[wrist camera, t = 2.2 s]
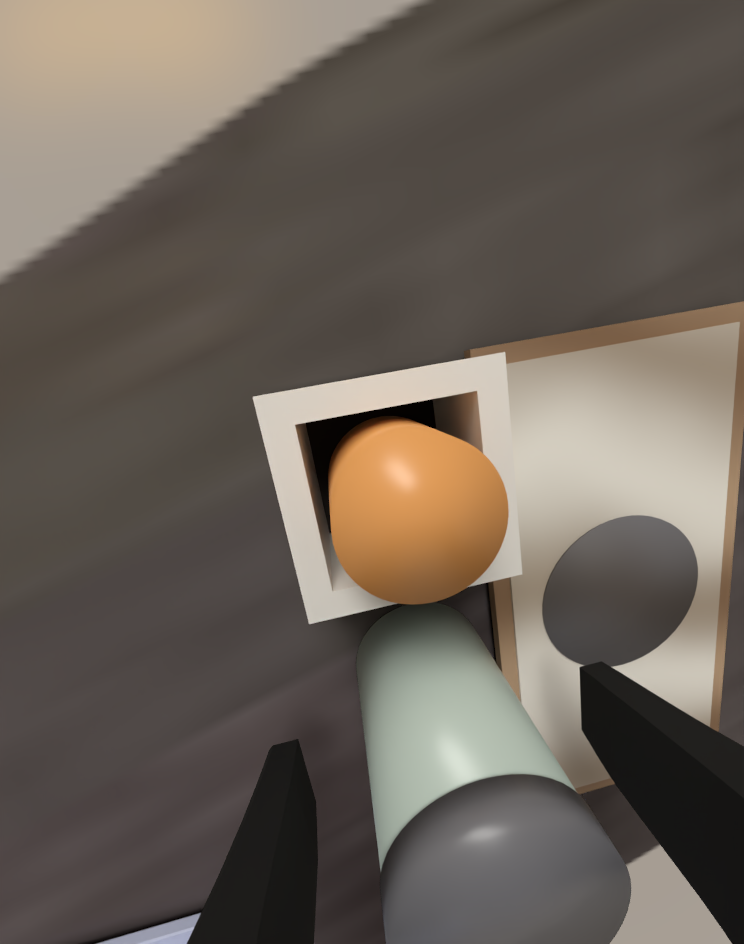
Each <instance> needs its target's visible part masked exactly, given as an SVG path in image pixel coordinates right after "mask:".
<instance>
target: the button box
mask: <svg viewBox="0 0 744 944" xmlns="http://www.w3.org/2000/svg"><path fill="white" fill-rule="evenodd" d="M430 399H433V407H434V415H435V423H436V430H438V431H441V432H444V433H446V434H449V435H451V436H454V437H456V438H458V439H461V440H463V441H465V442H467V443H469V444H471V445H472V446H474V447H475V448H477V449H478V450H479V451H481V452H482V453H483V454H484V455H485V456H486V457H487V458H488V459H489V460H490V461H491V463H492V464H493V465H494V467H495V468H496V470H497V471H498V473H499V475H500V477H501V479H502V481H503V483H504V486H505V490H506V493H507V499H508V510H509V517H508V525H507V530H506V534H505V538H504V540H503V543H502V546H501V548H500V550H499V552H498V554H497V556H496V558H495V559H494V561H493V562H492V563H491V565H490V566H489V568H488V569H487V570H486V571H485V572H484V573H483V574H482V575H481V576H480V577H479V578H478V579H477V580H476V581H475V582H474V583H472V584H471V585H470V586H475V585H479V584H483V583H488V582H492V581H496V580H500V579H505V578H509V577H513V576H517V575H522V562H521V549H520V536H519V524H518V511H517V498H516V485H515V472H514V459H513V446H512V433H511V420H510V407H509V394H508V382H507V369H506V356H505V352H502V353H496V354H490V355H485V356H479V357H474V358H468V359H462V360H457V361H451V362H445V363H440V364H434V365H429V366H423V367H417V368H412V369H406V370H400V371H395V372H389V373H384V374H378V375H372V376H367V377H361V378H356V379H350V380H344V381H339V382H333V383H328V384H322V385H316V386H311V387H305V388H299V389H294V390H288V391H283V392H277V393H271V394H266V395H260V396H255V397H253V401H254V405H255V409H256V413H257V417H258V421H259V425H260V429H261V433H262V437H263V441H264V445H265V449H266V453H267V457H268V461H269V465H270V469H271V473H272V477H273V481H274V485H275V489H276V493H277V497H278V501H279V505H280V509H281V513H282V517H283V521H284V525H285V529H286V533H287V537H288V541H289V545H290V549H291V553H292V557H293V561H294V565H295V569H296V573H297V577H298V581H299V585H300V589H301V593H302V597H303V601H304V605H305V609H306V613H307V617H308V621H309V624H312V623H316V622H321V621H325V620H329V619H333V618H338V617H342V616H346V615H351V614H355V613H359V612H363V611H368V610H372V609H376V608H381V607H385V606H389V605H393V604H398V603H394V602H389V601H386V600H383V599H380V598H378V597H376V596H374V595H372V594H370V593H369V592H367V591H365V590H364V589H362V588H361V587H360V586H359V585H358V584H356V583H355V582H354V581H353V580H352V579H351V577H350V576H349V575H348V574H347V573H346V571H345V570H344V568H343V567H342V565H341V564H340V561H339V559H338V557H337V555H336V552H335V549H334V545H333V541H332V534H331V533H329V529H328V524H327V519H326V515H325V510H324V506H323V501H322V496H321V492H320V487H319V483H318V478H317V473H316V469H315V464H314V460H313V455H312V450H311V446H310V441H309V437H308V432H307V427H306V423H307V422H312V421H318V420H323V419H328V418H334V417H339V416H345V415H350V414H355V413H361V412H366V411H371V410H377V409H382V408H388V407H393V406H398V405H404V404H409V403H414V402H420V401H425V400H430ZM470 586H468V587H470Z"/></svg>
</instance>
